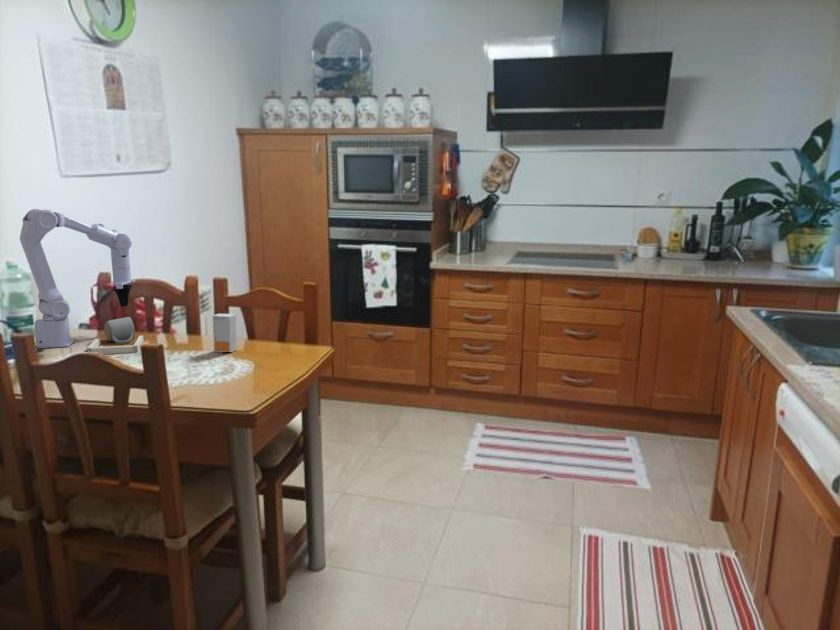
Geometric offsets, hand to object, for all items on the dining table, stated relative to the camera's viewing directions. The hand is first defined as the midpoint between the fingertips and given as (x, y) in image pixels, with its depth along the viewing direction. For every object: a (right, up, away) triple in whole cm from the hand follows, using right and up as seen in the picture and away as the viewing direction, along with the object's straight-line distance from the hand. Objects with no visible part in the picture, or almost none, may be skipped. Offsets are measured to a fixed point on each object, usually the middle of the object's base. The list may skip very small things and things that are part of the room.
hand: (124, 306), depth 223 cm
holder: (+6, -14, -17) cm, 23 cm away
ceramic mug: (+3, -12, -8) cm, 15 cm away
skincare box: (+42, -15, -21) cm, 50 cm away
